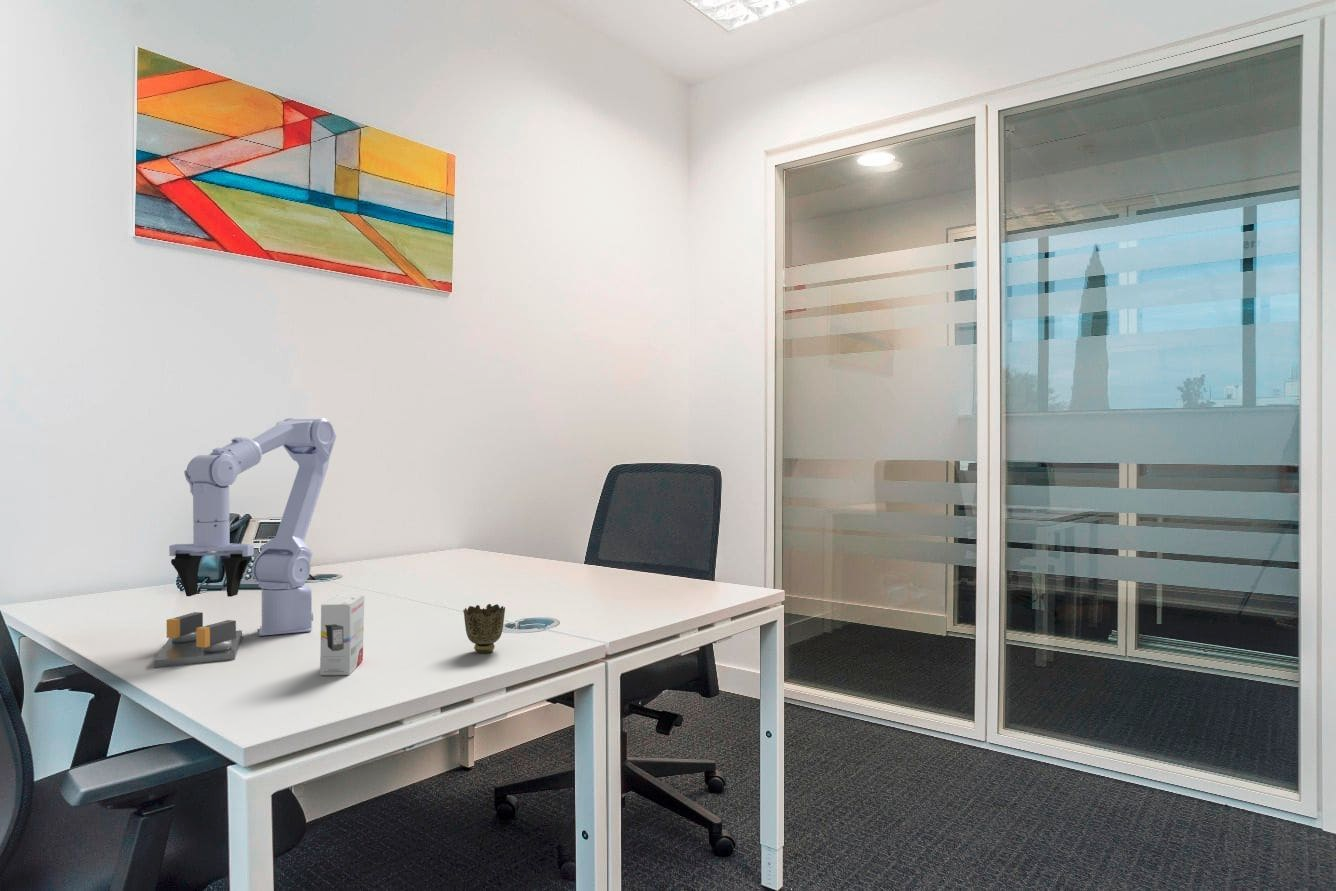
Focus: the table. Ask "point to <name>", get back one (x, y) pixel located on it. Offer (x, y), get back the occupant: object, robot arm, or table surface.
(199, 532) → the robot arm
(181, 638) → the knob
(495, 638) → the cup
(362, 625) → the ink box
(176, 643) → the plate
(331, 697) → the table surface
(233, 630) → the knob
